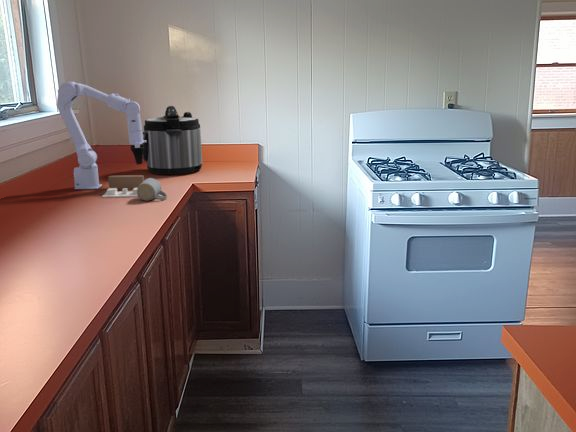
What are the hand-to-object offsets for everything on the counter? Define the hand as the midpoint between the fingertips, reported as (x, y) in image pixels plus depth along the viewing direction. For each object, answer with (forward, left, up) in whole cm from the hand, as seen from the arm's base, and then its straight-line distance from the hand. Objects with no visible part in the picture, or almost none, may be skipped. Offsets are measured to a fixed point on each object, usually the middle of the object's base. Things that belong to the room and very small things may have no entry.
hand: (139, 162), depth 232 cm
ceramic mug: (+10, -26, -10) cm, 29 cm away
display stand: (-3, -18, -10) cm, 21 cm away
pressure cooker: (+9, +35, -10) cm, 38 cm away
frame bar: (-5, -5, -10) cm, 12 cm away
